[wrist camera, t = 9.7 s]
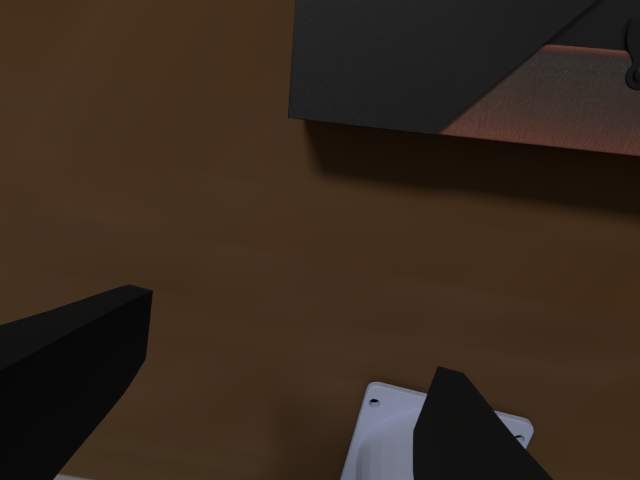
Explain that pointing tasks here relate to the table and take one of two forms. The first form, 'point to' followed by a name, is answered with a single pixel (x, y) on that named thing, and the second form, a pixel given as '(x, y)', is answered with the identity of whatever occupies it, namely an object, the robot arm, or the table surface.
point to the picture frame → (473, 69)
